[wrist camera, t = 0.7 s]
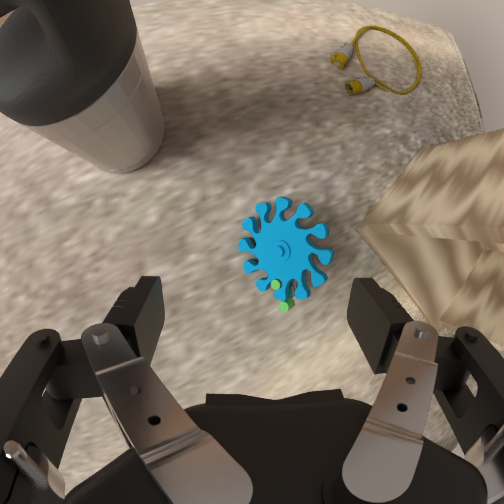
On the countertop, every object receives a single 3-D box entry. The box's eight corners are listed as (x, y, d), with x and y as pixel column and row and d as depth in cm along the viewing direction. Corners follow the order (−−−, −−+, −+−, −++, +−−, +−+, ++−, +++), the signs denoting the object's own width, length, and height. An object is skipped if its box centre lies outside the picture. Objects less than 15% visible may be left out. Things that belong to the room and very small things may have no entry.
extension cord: (315, 21, 32) (320, 13, 30) (404, 35, 34) (411, 30, 32) (337, 97, 33) (344, 91, 31) (428, 103, 35) (436, 99, 34)
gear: (234, 195, 30) (331, 200, 24) (266, 193, 35) (351, 198, 29) (235, 301, 33) (322, 324, 27) (265, 286, 37) (344, 303, 32)
